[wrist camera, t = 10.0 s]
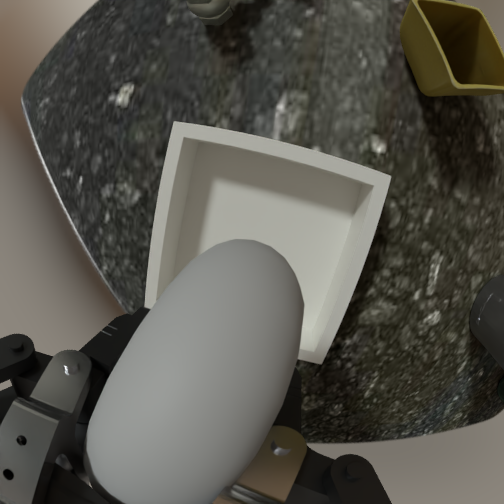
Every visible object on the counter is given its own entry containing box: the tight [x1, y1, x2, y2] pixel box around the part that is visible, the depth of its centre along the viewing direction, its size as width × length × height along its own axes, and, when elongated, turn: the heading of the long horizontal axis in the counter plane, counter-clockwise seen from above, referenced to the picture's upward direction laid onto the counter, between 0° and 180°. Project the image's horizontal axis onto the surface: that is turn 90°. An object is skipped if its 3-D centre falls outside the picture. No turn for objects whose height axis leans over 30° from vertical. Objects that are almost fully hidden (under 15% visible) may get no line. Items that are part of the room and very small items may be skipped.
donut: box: [83, 239, 305, 504], centre depth 8 cm, size 10×4×10 cm, turn 151°
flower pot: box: [400, 0, 504, 97], centre depth 16 cm, size 9×9×9 cm
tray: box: [145, 121, 391, 364], centre depth 25 cm, size 18×18×5 cm
